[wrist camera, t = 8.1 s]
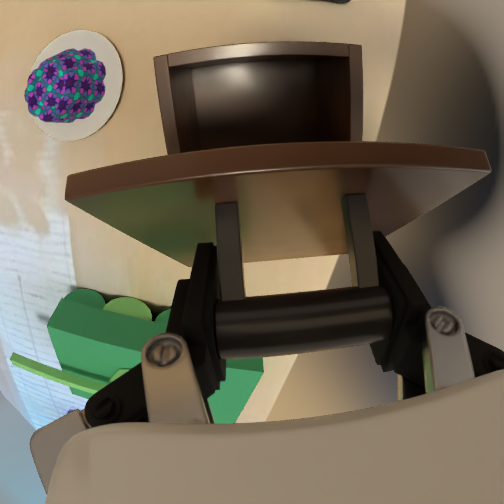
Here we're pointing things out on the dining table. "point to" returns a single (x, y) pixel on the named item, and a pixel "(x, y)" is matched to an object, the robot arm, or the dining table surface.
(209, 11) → the dining table surface
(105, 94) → the pudding
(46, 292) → the dining table surface
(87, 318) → the toy tank
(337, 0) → the smartphone
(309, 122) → the chest
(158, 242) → the lid
